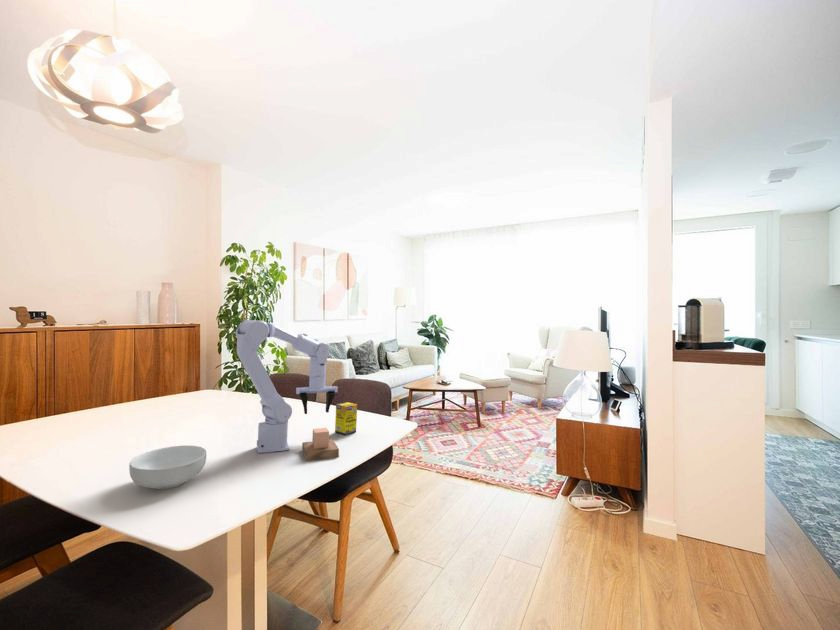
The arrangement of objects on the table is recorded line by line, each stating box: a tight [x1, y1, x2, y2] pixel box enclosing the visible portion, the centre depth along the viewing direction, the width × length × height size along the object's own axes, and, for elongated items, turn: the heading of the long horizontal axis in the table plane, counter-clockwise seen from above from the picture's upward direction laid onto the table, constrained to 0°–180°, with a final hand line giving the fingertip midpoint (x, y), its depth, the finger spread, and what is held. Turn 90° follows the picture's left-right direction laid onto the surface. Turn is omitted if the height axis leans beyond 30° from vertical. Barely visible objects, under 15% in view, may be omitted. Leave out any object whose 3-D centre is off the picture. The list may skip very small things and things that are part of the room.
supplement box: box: [334, 401, 358, 436], centre depth 146 cm, size 6×6×11 cm
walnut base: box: [301, 439, 340, 462], centre depth 122 cm, size 10×10×2 cm
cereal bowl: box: [128, 445, 207, 490], centre depth 98 cm, size 17×17×7 cm
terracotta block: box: [311, 427, 330, 449], centre depth 122 cm, size 4×4×5 cm
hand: (316, 412), depth 137 cm, fingers open, 7 cm apart
